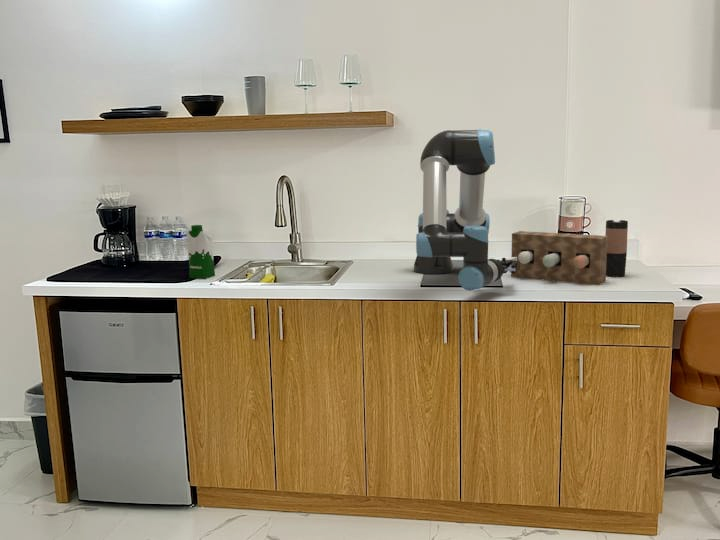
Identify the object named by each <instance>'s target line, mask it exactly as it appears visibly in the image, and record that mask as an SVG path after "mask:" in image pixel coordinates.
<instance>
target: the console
mask: <svg viewBox="0 0 720 540" xmlns="http://www.w3.org/2000/svg"><path fill="white" fill-rule="evenodd" d="M607 237H608V236H605V235H599V234H598V235H597V234H596V235H595V234H594V235H593V234H581V233H579V234H578V233H559V232H544V231H543V232H542V231H541V232H540V231H526V230H525V231H524V230H519V231H516V232H513V233H511V257H510V258H512V257H517V269H516V270H515V273H514V274H513V273H510V277H511V278H521V279H531V280H540V279H544V280H543V281H551V280H555V281H554V282H562V281H563V283H564V282H565V283H573V284H574V283H575V284H583V285H584V284H587V285H596V286H597V285H598V286H601V285H602V284H604V282H606V279H607V276H606V261H607ZM528 250H534V260H532V261H530V262H529V263H526V264H522V263H521V262H520V261H519V259H518V256H519V254H520V253H521V252H523V251H528ZM552 253H558V254H559V255H560V256H561V260H560V262H559V263H557V264H555V265H554V266H552V267H546V266H545V265H544V264H543V258H544V256H546V255H548V254H552ZM582 254H589V255H590V264H588V265H586V266H585V267H583V268H577V267H576V266H575V265H574V259H575V257H577V256H579V255H582Z"/></svg>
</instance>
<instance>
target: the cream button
mask: <svg viewBox="0 0 720 540" xmlns="http://www.w3.org/2000/svg"><path fill="white" fill-rule="evenodd" d="M518 259H519V261H520V262H521V263H522V264H526V263H529V262H530V261H532V260H534V250H528V251H523V252H521V253H520V254H519V256H518Z"/></svg>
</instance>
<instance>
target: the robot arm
mask: <svg viewBox="0 0 720 540" xmlns="http://www.w3.org/2000/svg"><path fill="white" fill-rule="evenodd" d="M494 145H495V144H494V134H493V131H490V130H489V129H480V128H479V129H464V130H462V129H461V130H455V129H454V130H450V129H449V130H443V131H440V132H438V133H437V134H435V135H434V136H433V137H431V139H429V140H428V142H427V144H426V145H425V146H424V148H423V150H422V152H421V155H420V170H421V171H422V172H423V175H422V176H423V177H422V179H423V181H422V183H423V185H422V213H420V214H419V215H418V220H417V221H418V222H417V227H418V228H417V230H418V233H416V239H415V240H416V242H415V244H416V245H415V246H416V247H415V248H416V250H415V251H416V252H415V253H416V258H415V260H414V264H413V272H416V273H420V274H425V275H427V274H428V275H436V274H437V275H439V274H448V273H452V272H453V271H454V264H453V261H452V258H463V260H462V261H463V267H462V269H461V270H460V271H459V273H458V277H457V279H458V280H457V281H458V282H459V285H460V286H461V288H462V289H464V290H466V291H475V290H480V289H481V288H483V287H486V286H488V285H489V284H492V283H495V282H496V281H499V280H500V279H501V278H502V277H503V275H504V274H507V273H510V274H511V273H513V274H514V273H515V270H516V269H517V257H512V258H511V257H509V258H507V259H506V257H502V258H501V260H500V259H496V258H489V233H490V231H489V229H490V214H489V213H486V211H485V209H484V208H483V207H484V193H485V192H484V191H485V179H486V172H488V170H490V168H491V166H493V165H495V163H496V156H495V146H494ZM450 166H456V168H457V171H459V173H460V177H459V200H458V201H459V202H458V208H456V210H455V211H454V213H450V211H449V210H448V209H447V172H448V171H449V170H450Z"/></svg>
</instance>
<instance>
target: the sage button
mask: <svg viewBox="0 0 720 540" xmlns="http://www.w3.org/2000/svg"><path fill="white" fill-rule="evenodd" d="M560 260H561V256H560V255H559V254H558V253H552V254H548V255H546V256H544V258H543V264H544V265H545V266H546V267H552V266H554V265H555V264H557V263H559V262H560Z"/></svg>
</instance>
